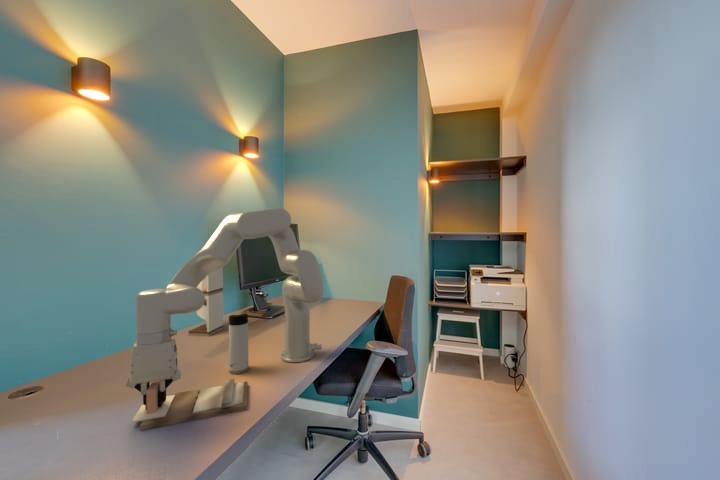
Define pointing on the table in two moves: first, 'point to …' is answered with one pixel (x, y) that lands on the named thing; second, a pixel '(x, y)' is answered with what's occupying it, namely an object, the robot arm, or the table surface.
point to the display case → (211, 305)
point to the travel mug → (238, 343)
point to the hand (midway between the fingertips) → (155, 405)
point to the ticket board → (203, 404)
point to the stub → (153, 404)
